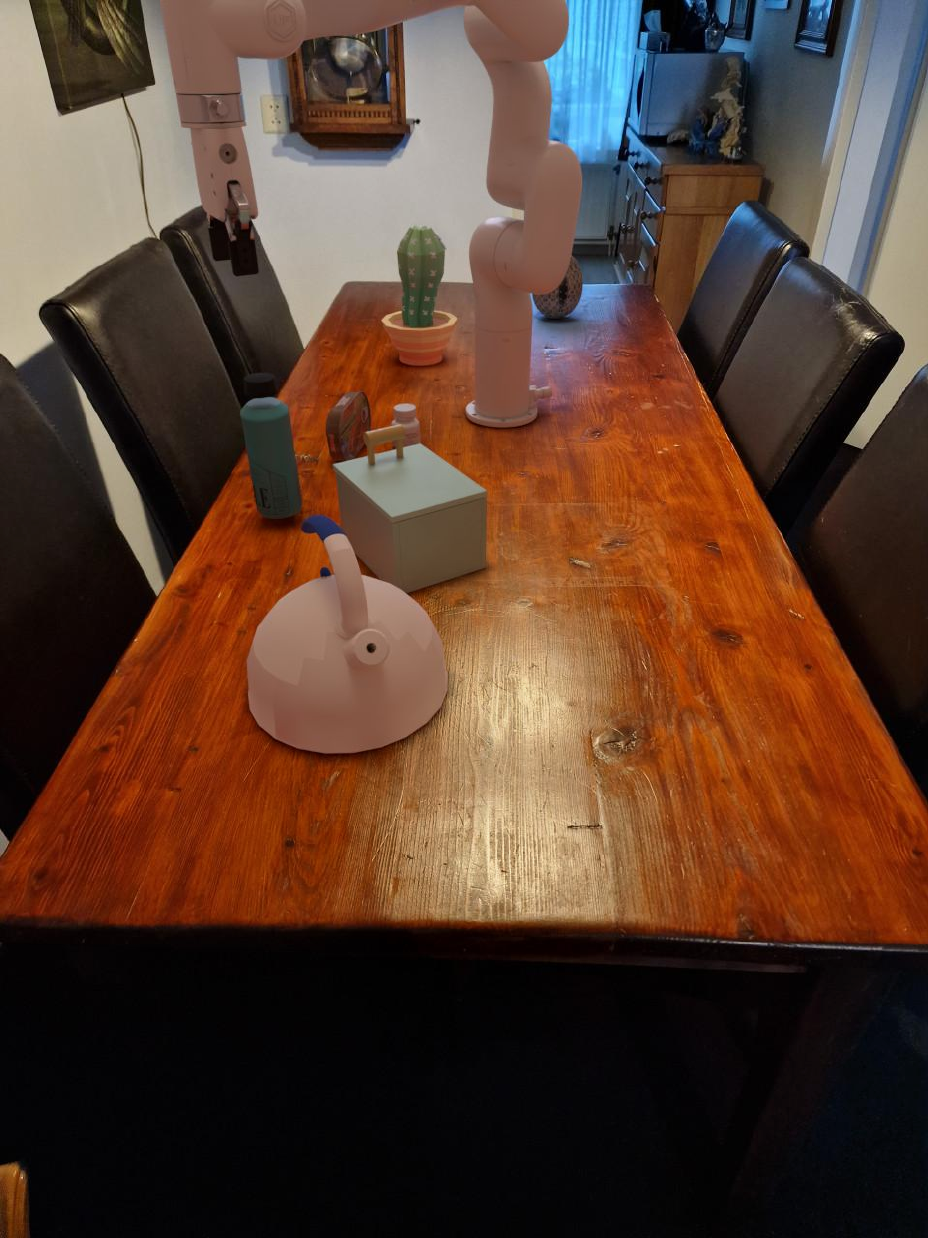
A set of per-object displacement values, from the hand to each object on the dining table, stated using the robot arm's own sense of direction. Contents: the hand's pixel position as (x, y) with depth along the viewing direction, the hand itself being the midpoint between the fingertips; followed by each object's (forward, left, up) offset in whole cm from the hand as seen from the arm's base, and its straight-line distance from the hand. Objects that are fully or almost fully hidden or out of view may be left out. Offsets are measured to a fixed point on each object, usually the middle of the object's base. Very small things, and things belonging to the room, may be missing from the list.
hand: (235, 266), depth 106 cm
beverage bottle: (+3, +13, -30) cm, 33 cm away
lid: (-8, +30, -20) cm, 37 cm away
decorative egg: (-89, -48, -30) cm, 106 cm away
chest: (-8, +31, -30) cm, 44 cm away
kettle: (+10, +51, -30) cm, 60 cm away
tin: (-15, -3, -30) cm, 34 cm away
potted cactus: (-47, -38, -30) cm, 68 cm away
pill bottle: (-22, +3, -30) cm, 38 cm away
